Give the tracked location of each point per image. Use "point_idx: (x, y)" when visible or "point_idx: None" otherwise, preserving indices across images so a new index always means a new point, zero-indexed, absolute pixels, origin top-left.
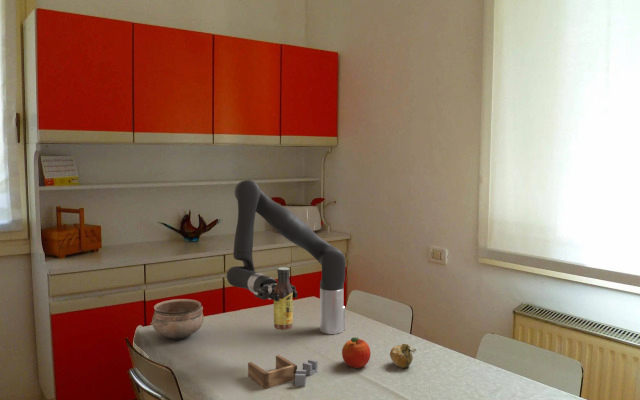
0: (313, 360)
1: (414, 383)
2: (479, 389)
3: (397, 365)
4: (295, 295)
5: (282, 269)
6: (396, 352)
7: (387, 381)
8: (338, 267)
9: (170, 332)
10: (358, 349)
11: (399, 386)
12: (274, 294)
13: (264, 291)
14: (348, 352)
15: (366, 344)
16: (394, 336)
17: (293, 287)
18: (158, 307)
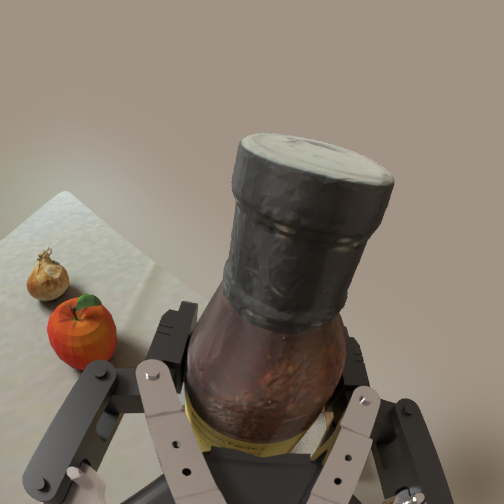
0: (182, 392)
1: (108, 263)
2: (87, 220)
3: (65, 290)
4: (196, 317)
5: (349, 151)
6: (59, 271)
7: (125, 287)
8: None
9: None
10: (102, 305)
11: (131, 271)
12: (349, 354)
13: (409, 410)
14: (113, 327)
15: (73, 298)
16: None
17: (112, 369)
18: None
